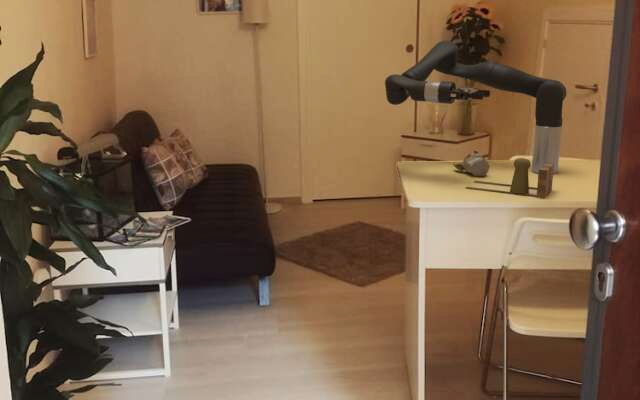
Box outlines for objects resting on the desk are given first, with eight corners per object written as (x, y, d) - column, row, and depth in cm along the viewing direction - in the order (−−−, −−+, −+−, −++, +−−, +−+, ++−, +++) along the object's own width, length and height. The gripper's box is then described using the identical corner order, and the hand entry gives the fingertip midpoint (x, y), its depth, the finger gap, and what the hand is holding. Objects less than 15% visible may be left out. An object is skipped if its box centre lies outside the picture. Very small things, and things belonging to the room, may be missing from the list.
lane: (475, 181, 247) (476, 155, 245) (551, 190, 236) (554, 163, 233) (465, 188, 237) (466, 162, 235) (544, 198, 225) (547, 170, 223)
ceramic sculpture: (470, 154, 249) (452, 148, 263) (469, 178, 251) (451, 172, 265) (498, 153, 252) (478, 148, 266) (496, 177, 253) (477, 171, 268)
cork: (529, 194, 228) (532, 160, 226) (510, 192, 229) (513, 158, 227) (528, 191, 234) (531, 158, 232) (509, 189, 235) (512, 156, 233)
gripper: (446, 100, 253) (491, 103, 246) (432, 105, 241) (480, 108, 233) (447, 79, 251) (492, 81, 244) (433, 82, 239) (481, 85, 232)
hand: (486, 94), depth 239 cm, fingers open, 8 cm apart
